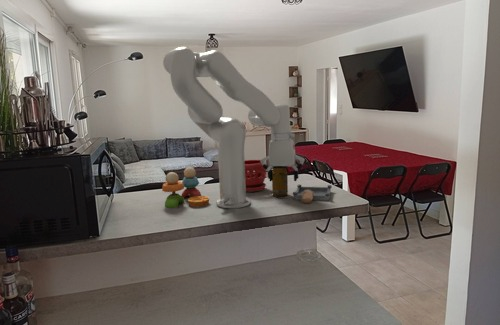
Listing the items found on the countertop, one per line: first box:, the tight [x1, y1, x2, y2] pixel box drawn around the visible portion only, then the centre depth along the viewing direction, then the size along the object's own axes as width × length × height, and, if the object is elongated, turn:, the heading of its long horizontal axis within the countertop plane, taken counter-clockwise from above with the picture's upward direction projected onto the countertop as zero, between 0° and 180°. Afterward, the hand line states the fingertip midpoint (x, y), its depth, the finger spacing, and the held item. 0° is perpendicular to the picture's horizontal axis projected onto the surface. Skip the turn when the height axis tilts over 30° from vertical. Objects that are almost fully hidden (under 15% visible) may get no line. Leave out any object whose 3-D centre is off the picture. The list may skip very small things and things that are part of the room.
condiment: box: [267, 166, 294, 199], centre depth 150 cm, size 7×8×12 cm
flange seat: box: [292, 184, 332, 205], centre depth 146 cm, size 18×14×4 cm
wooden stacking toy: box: [161, 166, 210, 209], centre depth 147 cm, size 18×17×12 cm
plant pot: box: [244, 159, 267, 193], centre depth 161 cm, size 13×13×12 cm
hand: (283, 180), depth 150 cm, fingers open, 9 cm apart
